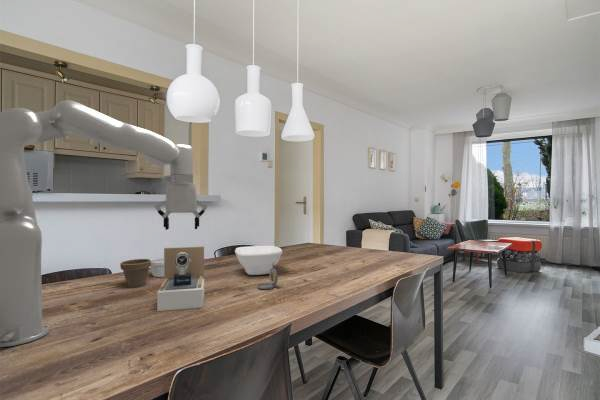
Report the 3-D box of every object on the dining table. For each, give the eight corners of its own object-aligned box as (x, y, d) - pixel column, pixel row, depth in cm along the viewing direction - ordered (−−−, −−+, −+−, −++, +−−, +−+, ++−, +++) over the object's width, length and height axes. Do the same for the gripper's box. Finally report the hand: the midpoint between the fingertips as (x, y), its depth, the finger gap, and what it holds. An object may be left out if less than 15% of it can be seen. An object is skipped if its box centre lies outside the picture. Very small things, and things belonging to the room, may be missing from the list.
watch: (173, 287, 111) (173, 254, 110) (174, 281, 118) (174, 250, 118) (191, 286, 112) (190, 253, 112) (191, 280, 120) (191, 250, 120)
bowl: (237, 281, 144) (237, 254, 144) (233, 269, 165) (233, 246, 165) (286, 277, 150) (286, 252, 150) (276, 267, 171) (276, 244, 171)
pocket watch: (253, 288, 132) (253, 263, 132) (265, 283, 139) (265, 260, 139) (271, 291, 128) (271, 266, 128) (282, 286, 135) (282, 262, 135)
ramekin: (166, 270, 165) (166, 256, 165) (186, 273, 159) (186, 258, 159) (143, 276, 153) (143, 261, 153) (164, 279, 147) (164, 263, 147)
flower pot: (113, 287, 133) (113, 263, 133) (135, 280, 144) (135, 257, 144) (136, 290, 130) (136, 264, 130) (157, 282, 141) (156, 259, 141)
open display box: (202, 307, 110) (202, 253, 110) (157, 311, 107) (156, 255, 106) (204, 293, 126) (204, 246, 125) (165, 296, 122) (164, 247, 122)
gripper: (153, 179, 110) (153, 230, 110) (207, 180, 114) (207, 229, 114) (157, 180, 117) (157, 228, 117) (207, 181, 121) (207, 227, 121)
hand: (181, 229), depth 116 cm, fingers open, 9 cm apart
